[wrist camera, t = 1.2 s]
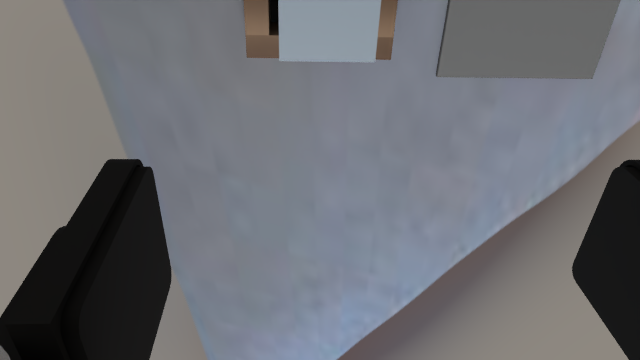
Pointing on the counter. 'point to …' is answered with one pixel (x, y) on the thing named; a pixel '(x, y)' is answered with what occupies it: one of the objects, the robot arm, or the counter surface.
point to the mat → (524, 38)
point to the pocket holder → (266, 33)
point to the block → (328, 30)
